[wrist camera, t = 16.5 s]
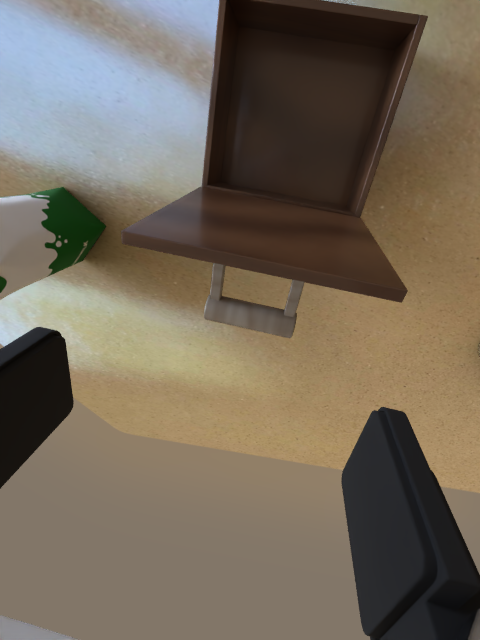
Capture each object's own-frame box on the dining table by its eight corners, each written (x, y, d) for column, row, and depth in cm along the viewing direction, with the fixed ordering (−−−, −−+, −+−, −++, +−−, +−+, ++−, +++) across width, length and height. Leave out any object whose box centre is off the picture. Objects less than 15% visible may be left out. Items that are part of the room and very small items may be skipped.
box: (235, 19, 30) (220, -15, 24) (401, 45, 29) (428, 15, 23) (216, 186, 37) (201, 190, 31) (348, 212, 36) (359, 221, 30)
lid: (120, 230, 17) (126, 313, 20) (408, 290, 16) (369, 368, 19) (200, 186, 31) (196, 240, 34) (361, 217, 30) (342, 270, 33)
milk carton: (85, 268, 45) (-49, 335, 28) (33, 224, 43) (-147, 265, 26) (115, 226, 41) (-18, 271, 24) (59, 174, 40) (-130, 183, 22)
